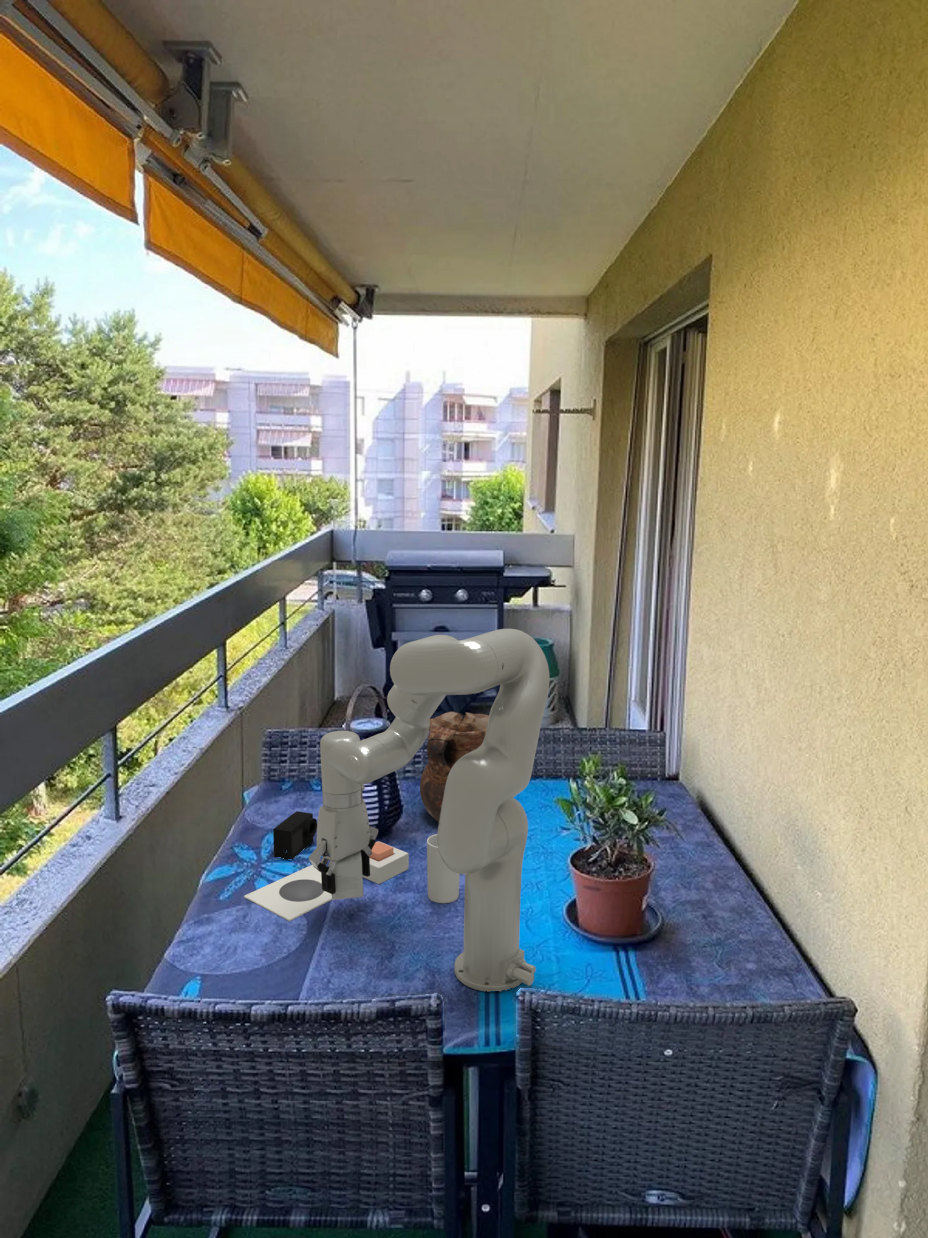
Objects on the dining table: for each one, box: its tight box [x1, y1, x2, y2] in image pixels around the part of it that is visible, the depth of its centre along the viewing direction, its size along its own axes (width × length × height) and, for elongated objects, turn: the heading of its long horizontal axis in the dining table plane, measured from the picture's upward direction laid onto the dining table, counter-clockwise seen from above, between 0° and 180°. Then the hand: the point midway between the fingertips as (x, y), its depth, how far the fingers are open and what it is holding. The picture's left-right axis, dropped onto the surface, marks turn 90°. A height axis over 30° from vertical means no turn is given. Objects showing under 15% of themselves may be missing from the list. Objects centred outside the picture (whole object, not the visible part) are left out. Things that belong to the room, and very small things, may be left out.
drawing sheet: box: [243, 864, 333, 922], centre depth 179 cm, size 14×18×1 cm
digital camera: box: [272, 810, 318, 860], centre depth 197 cm, size 10×5×7 cm, turn 162°
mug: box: [426, 833, 461, 904], centre depth 178 cm, size 10×7×12 cm, turn 167°
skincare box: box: [331, 850, 364, 901], centre depth 169 cm, size 6×6×7 cm
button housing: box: [362, 840, 410, 885], centre depth 188 cm, size 9×9×4 cm
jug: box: [419, 711, 489, 824], centre depth 214 cm, size 22×21×25 cm
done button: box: [369, 841, 394, 862], centre depth 188 cm, size 4×4×2 cm
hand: (346, 882), depth 169 cm, fingers closed on skincare box, 8 cm apart
